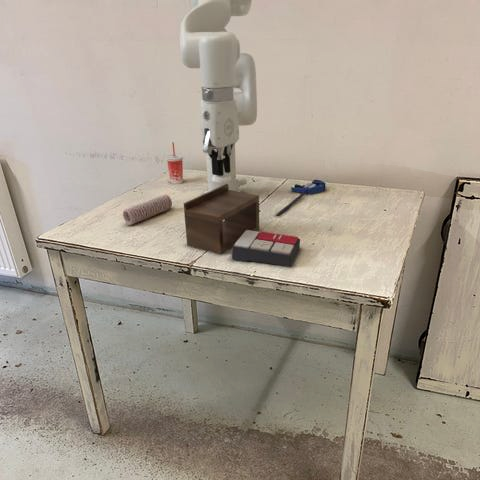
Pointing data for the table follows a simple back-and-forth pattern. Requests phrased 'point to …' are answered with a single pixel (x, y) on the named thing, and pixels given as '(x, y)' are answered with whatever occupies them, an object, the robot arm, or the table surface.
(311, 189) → the bar clamp
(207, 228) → the brown wooden cabinet
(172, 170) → the beverage cup
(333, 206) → the table surface
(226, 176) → the chess piece
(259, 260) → the grey and red box
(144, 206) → the coil
